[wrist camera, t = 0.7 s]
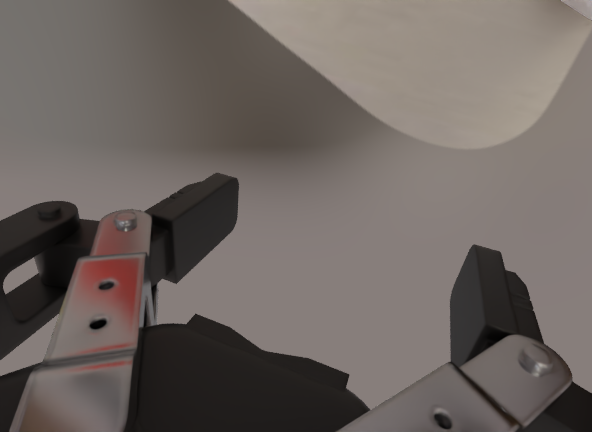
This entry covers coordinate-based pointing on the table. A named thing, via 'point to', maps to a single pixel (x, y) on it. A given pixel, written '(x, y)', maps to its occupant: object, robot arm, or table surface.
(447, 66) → the table surface
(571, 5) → the can
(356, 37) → the table surface
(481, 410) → the robot arm
